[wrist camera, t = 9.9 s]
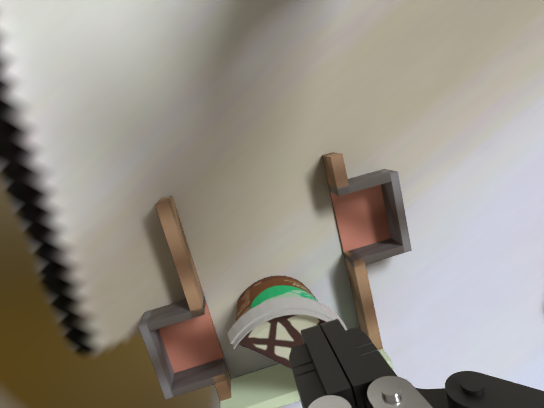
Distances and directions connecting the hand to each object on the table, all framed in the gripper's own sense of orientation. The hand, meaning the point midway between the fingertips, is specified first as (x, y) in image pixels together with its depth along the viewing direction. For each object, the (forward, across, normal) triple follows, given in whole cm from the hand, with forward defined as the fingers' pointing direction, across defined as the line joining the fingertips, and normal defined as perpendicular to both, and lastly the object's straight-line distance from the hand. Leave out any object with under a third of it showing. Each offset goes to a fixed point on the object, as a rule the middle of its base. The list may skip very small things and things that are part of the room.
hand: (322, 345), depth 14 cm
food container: (+25, -1, +10) cm, 27 cm away
